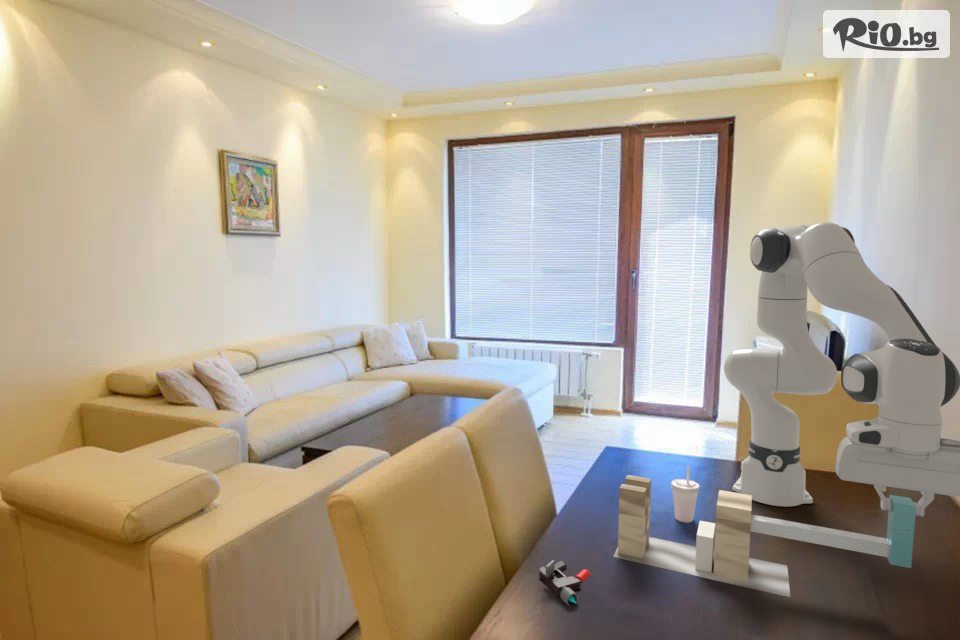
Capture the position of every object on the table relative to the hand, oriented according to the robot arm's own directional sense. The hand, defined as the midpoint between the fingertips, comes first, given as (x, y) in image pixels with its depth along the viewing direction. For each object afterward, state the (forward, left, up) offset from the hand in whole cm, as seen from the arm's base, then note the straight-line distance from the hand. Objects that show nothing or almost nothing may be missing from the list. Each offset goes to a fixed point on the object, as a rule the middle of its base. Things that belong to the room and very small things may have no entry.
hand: (901, 512), depth 98 cm
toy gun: (+18, -54, -19) cm, 60 cm away
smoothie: (-19, -37, -18) cm, 46 cm away
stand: (0, -32, -18) cm, 37 cm away
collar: (0, -31, -17) cm, 36 cm away
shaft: (0, -12, -9) cm, 15 cm away
